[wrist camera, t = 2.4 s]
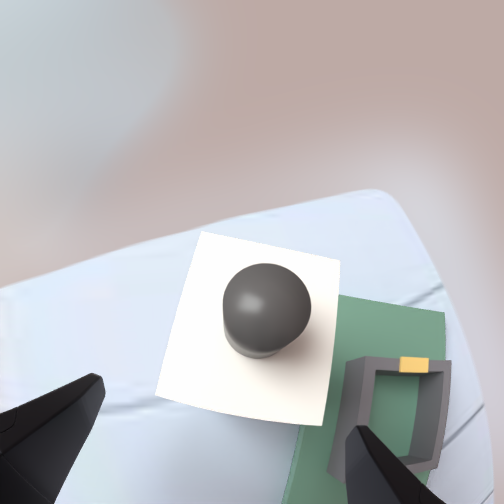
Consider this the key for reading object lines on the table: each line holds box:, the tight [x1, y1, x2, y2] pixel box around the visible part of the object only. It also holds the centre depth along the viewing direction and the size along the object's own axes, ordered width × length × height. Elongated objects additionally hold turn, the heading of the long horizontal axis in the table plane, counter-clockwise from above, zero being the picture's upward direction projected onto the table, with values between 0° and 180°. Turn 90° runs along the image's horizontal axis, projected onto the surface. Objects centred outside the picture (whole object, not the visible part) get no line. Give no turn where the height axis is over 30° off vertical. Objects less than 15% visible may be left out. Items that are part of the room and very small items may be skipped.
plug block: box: [155, 232, 340, 426], centre depth 12 cm, size 5×4×14 cm
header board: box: [282, 295, 451, 504], centre depth 14 cm, size 18×12×4 cm, turn 169°
